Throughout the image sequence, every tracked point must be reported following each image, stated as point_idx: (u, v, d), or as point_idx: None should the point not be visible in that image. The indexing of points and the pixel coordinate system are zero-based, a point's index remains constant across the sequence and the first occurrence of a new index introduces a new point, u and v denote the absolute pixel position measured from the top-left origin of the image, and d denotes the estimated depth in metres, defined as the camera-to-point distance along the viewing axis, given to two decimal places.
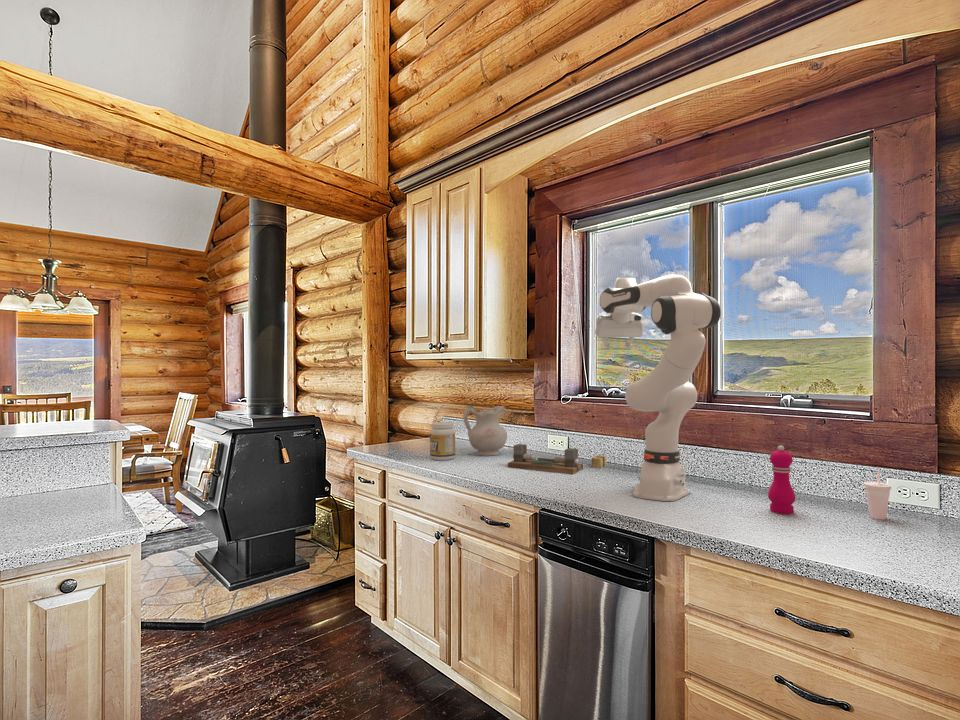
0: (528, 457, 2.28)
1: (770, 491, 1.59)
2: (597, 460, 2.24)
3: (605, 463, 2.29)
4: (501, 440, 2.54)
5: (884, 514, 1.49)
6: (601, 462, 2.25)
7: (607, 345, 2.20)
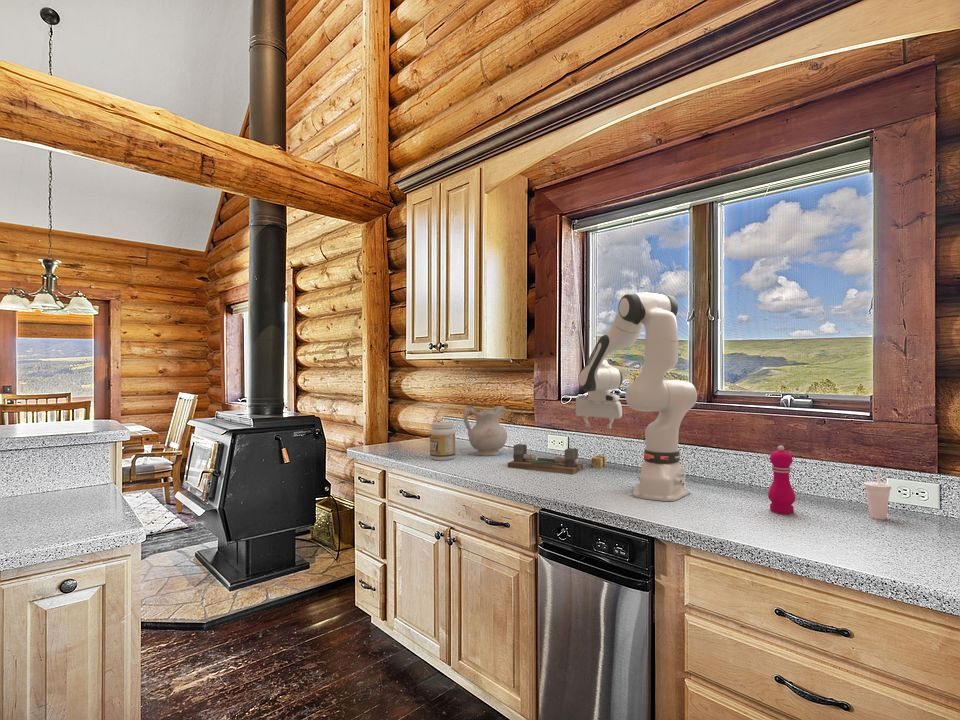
0: (528, 457, 2.28)
1: (770, 491, 1.59)
2: (597, 460, 2.24)
3: (605, 463, 2.29)
4: (501, 440, 2.54)
5: (884, 514, 1.49)
6: (601, 462, 2.25)
7: (587, 425, 2.30)
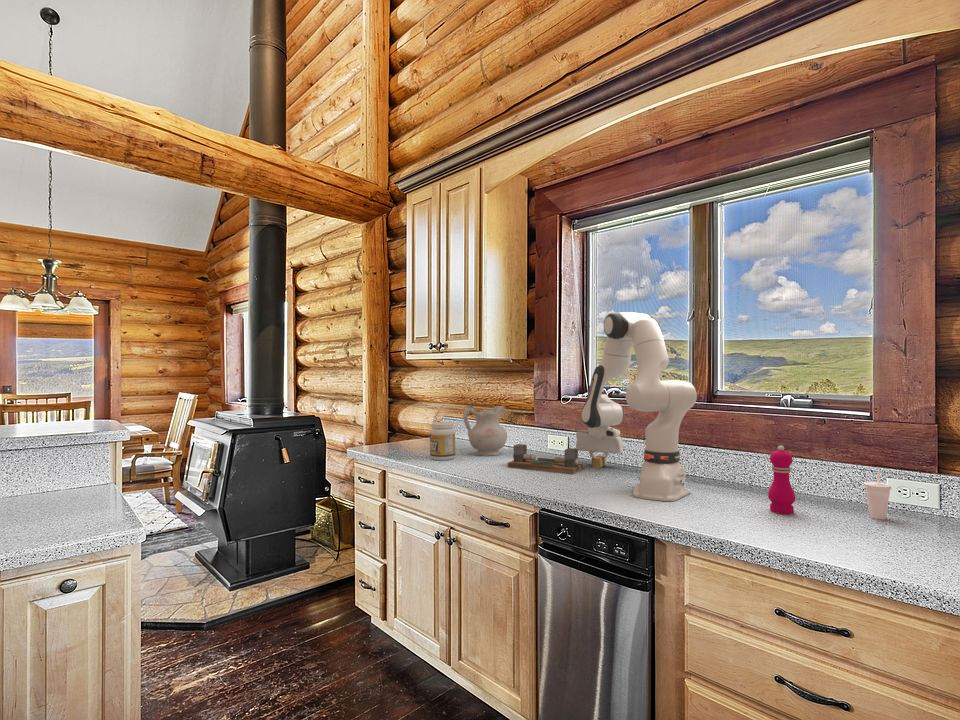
0: (528, 457, 2.28)
1: (770, 491, 1.59)
2: (597, 460, 2.24)
3: (605, 463, 2.29)
4: (501, 440, 2.54)
5: (884, 514, 1.49)
6: (601, 462, 2.25)
7: None
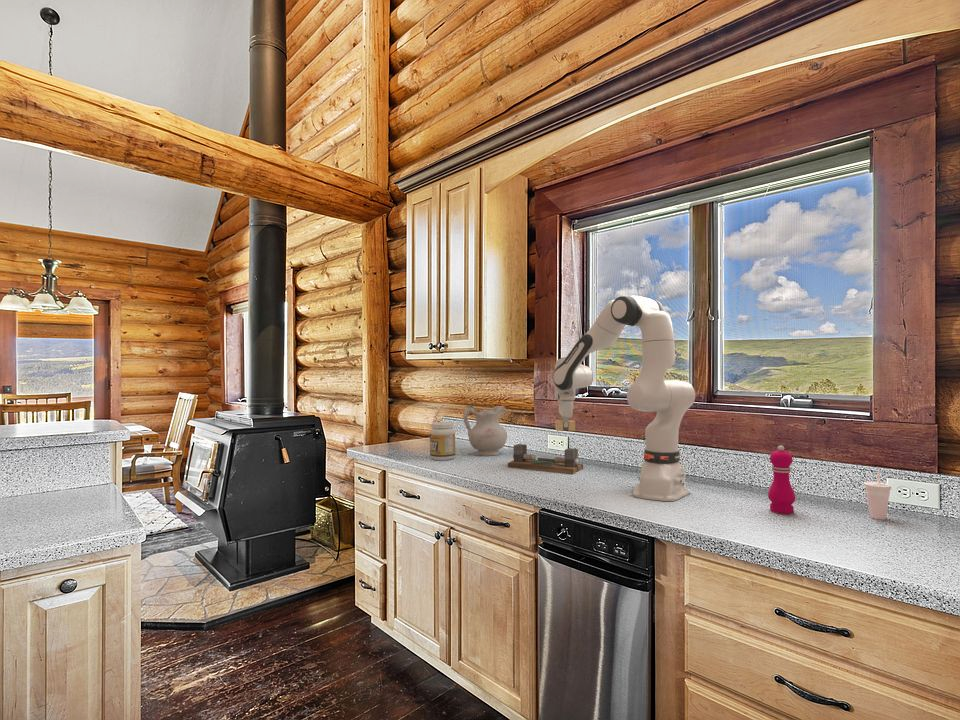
0: (528, 457, 2.28)
1: (770, 491, 1.59)
2: (556, 422, 2.26)
3: (571, 428, 2.25)
4: (501, 440, 2.54)
5: (884, 514, 1.49)
6: (559, 425, 2.25)
7: None
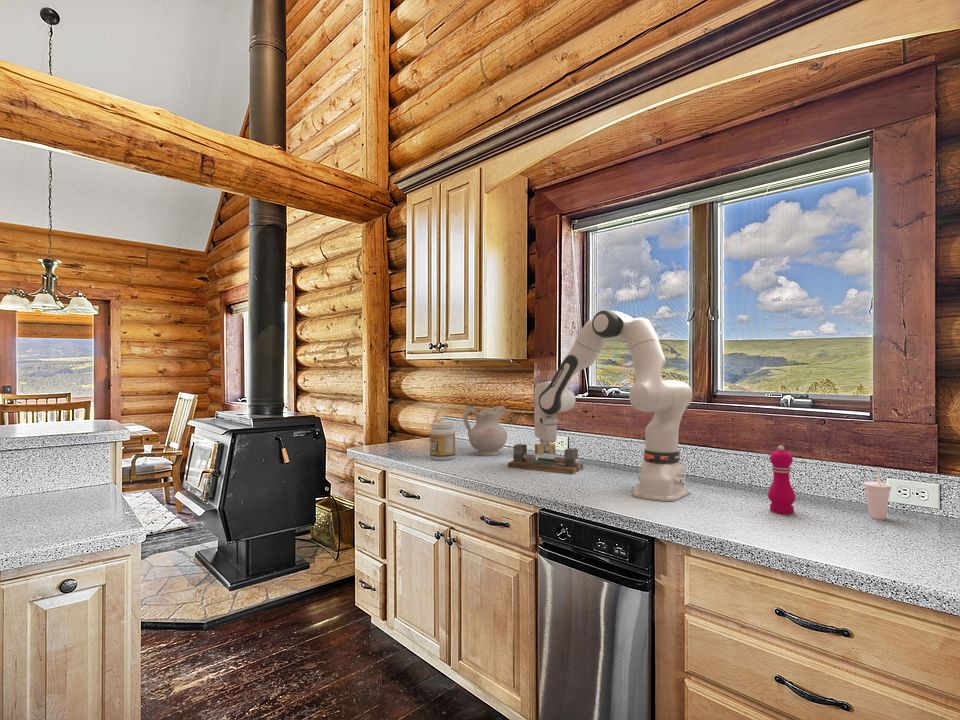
0: (528, 457, 2.28)
1: (770, 491, 1.59)
2: (536, 446, 2.24)
3: (552, 452, 2.24)
4: (501, 440, 2.54)
5: (884, 514, 1.49)
6: (540, 449, 2.23)
7: None
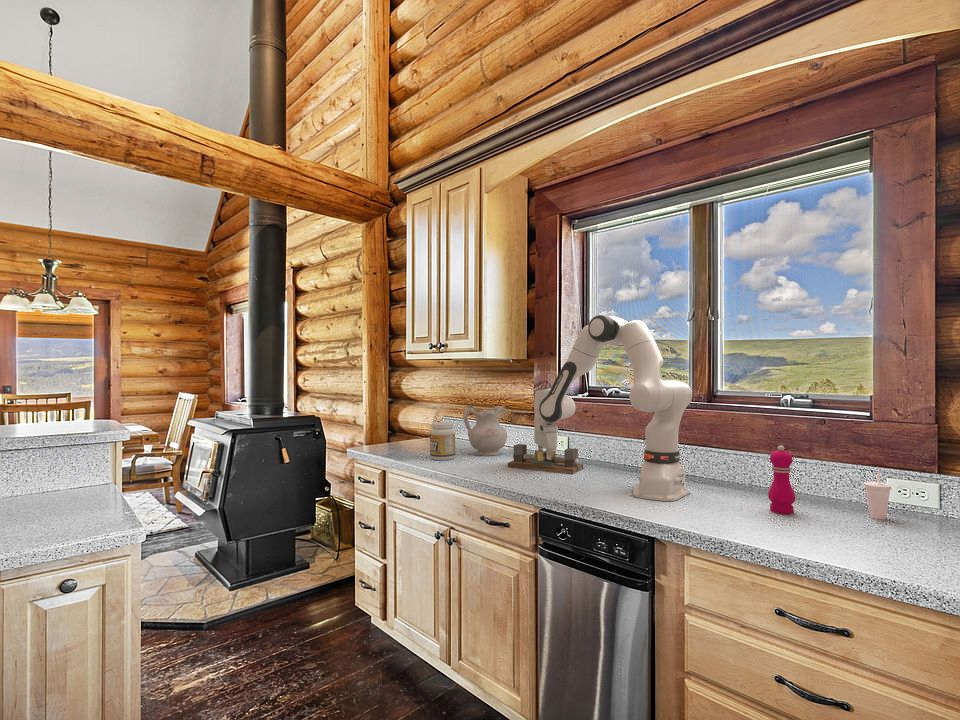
0: (528, 457, 2.28)
1: (770, 491, 1.59)
2: (536, 453, 2.24)
3: (552, 458, 2.24)
4: (501, 440, 2.54)
5: (884, 514, 1.49)
6: (540, 455, 2.23)
7: None
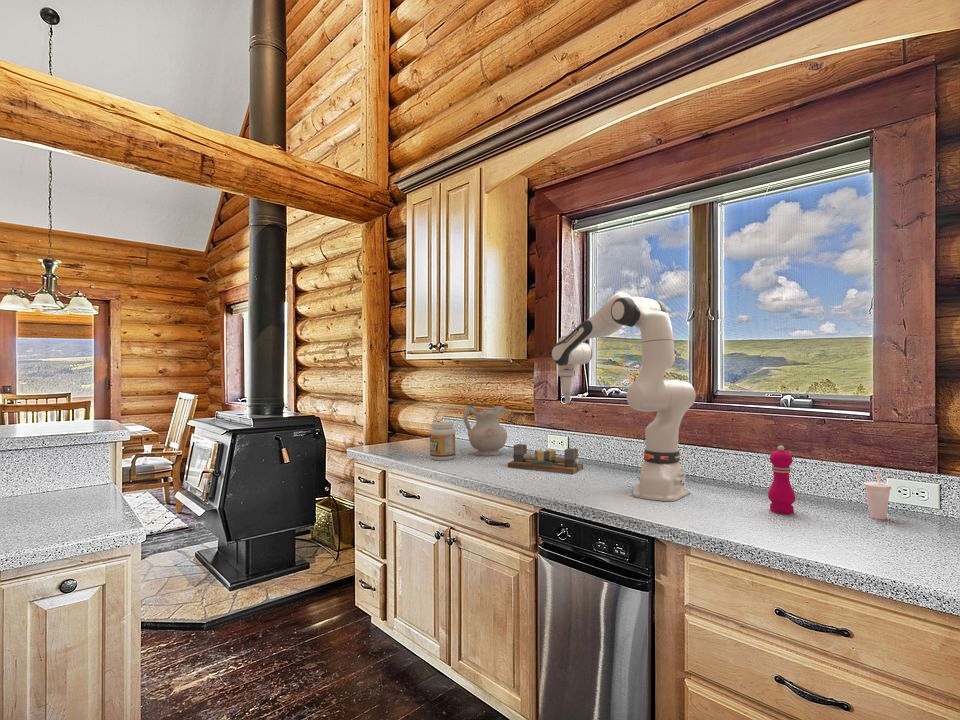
0: (528, 457, 2.28)
1: (770, 491, 1.59)
2: (536, 453, 2.24)
3: (552, 458, 2.24)
4: (501, 440, 2.54)
5: (884, 514, 1.49)
6: (540, 455, 2.23)
7: None
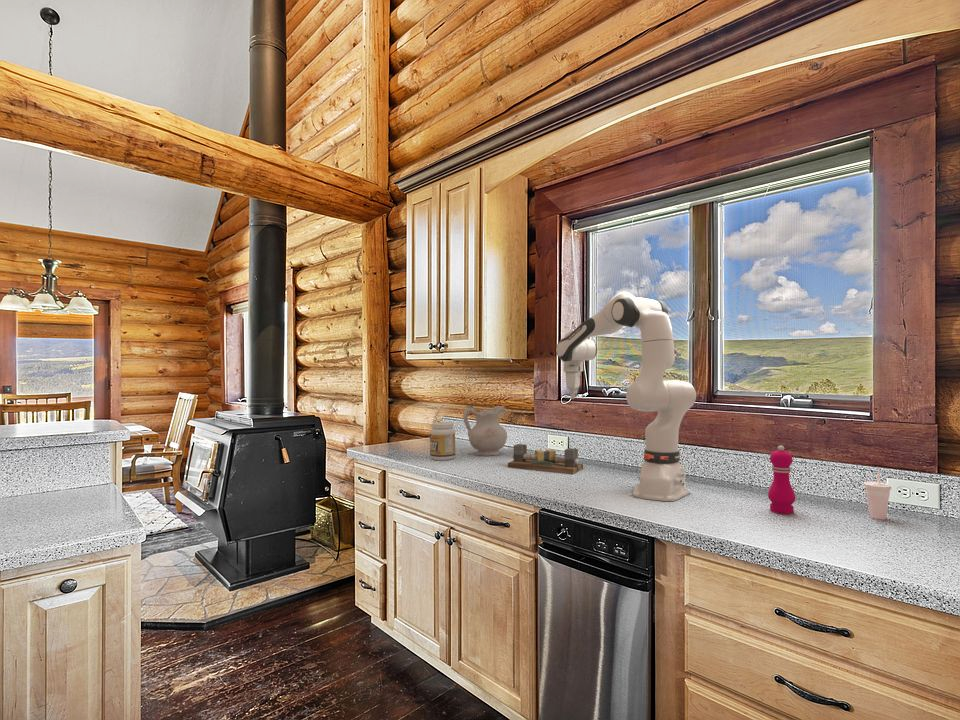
0: (528, 457, 2.28)
1: (770, 491, 1.59)
2: (536, 453, 2.24)
3: (552, 458, 2.24)
4: (501, 440, 2.54)
5: (884, 514, 1.49)
6: (540, 455, 2.23)
7: None
